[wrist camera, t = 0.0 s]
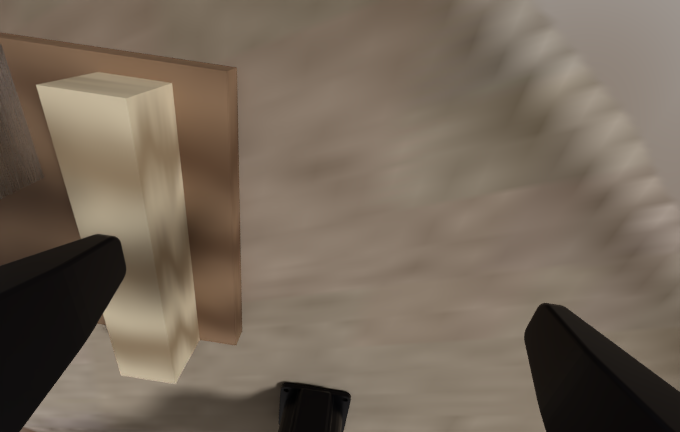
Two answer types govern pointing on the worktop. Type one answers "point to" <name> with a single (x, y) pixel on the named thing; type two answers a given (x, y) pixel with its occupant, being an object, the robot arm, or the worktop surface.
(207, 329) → the mounting board
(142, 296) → the rail
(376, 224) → the worktop surface
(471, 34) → the worktop surface
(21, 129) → the cup bracket
